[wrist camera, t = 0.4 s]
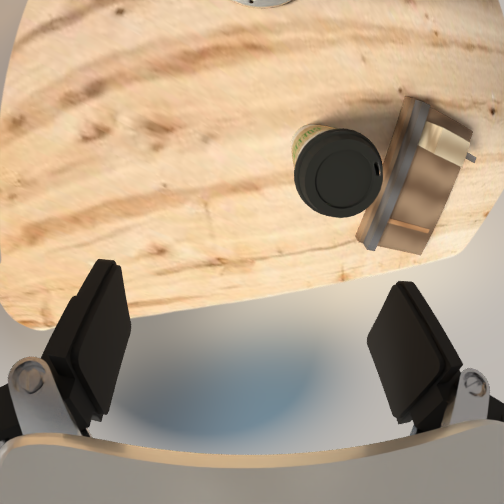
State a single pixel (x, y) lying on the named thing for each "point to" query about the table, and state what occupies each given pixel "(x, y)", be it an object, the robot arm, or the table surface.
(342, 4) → the table surface
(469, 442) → the robot arm
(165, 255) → the table surface
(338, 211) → the coffee cup
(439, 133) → the block
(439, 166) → the walnut board
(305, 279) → the table surface
